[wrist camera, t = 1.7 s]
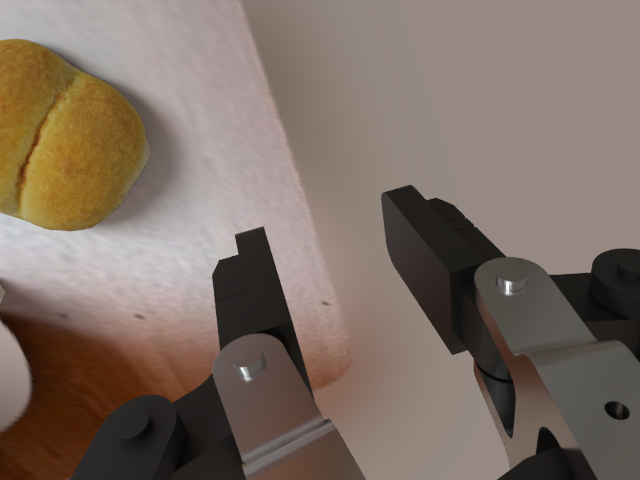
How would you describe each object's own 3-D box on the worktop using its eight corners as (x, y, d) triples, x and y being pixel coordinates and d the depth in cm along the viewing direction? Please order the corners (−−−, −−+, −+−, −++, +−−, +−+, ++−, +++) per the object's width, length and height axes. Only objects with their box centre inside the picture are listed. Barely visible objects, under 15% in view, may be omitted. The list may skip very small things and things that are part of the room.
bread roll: (-28, -1, 20) (-67, 13, 17) (171, 112, 25) (171, 140, 21) (-92, 160, 23) (-136, 198, 20) (100, 237, 27) (89, 278, 24)
